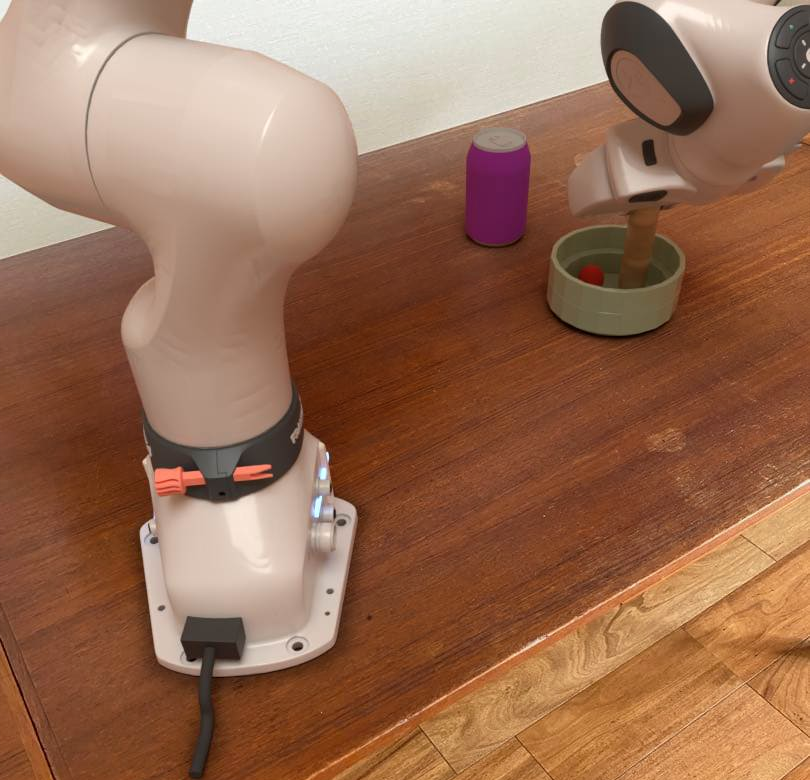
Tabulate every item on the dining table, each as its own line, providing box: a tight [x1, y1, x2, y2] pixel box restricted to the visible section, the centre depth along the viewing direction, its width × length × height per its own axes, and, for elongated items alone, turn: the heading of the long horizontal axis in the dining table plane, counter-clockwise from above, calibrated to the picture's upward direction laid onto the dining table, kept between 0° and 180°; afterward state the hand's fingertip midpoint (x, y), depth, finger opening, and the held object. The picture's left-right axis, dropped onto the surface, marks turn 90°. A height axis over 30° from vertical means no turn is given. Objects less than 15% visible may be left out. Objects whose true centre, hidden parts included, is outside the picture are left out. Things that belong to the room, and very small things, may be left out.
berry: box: [577, 265, 604, 287], centre depth 97 cm, size 3×3×3 cm
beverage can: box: [464, 126, 532, 248], centre depth 105 cm, size 8×8×12 cm
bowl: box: [546, 224, 686, 337], centre depth 96 cm, size 14×14×6 cm
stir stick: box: [618, 206, 661, 289], centre depth 91 cm, size 3×3×16 cm
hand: (642, 205), depth 91 cm, fingers closed on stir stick, 3 cm apart
